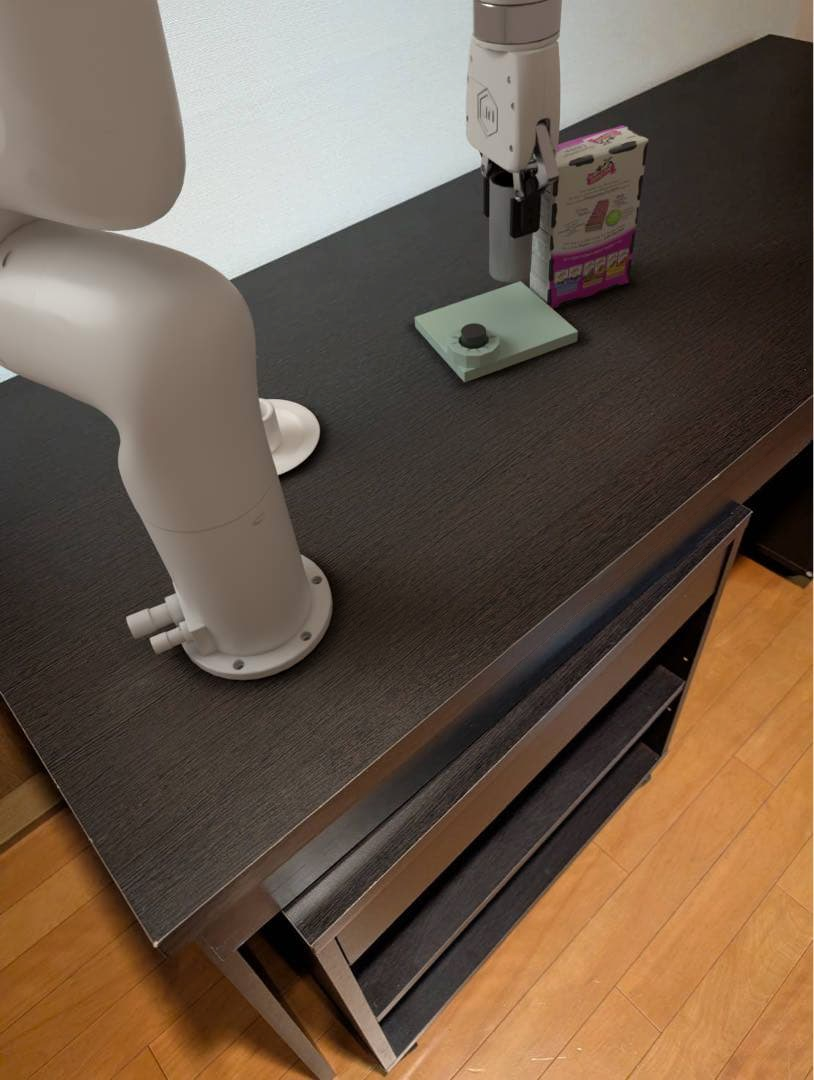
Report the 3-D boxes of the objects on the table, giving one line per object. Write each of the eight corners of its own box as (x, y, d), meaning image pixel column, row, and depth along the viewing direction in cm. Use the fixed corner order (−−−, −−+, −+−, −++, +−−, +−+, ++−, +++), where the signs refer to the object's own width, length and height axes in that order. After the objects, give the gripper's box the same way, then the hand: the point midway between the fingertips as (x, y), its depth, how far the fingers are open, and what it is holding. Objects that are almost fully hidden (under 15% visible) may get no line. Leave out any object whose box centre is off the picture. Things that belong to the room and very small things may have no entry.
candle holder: (189, 428, 79) (176, 394, 76) (298, 391, 81) (290, 358, 78) (219, 502, 71) (206, 468, 68) (338, 459, 74) (331, 425, 71)
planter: (528, 283, 81) (533, 187, 74) (486, 282, 82) (486, 186, 74) (532, 261, 84) (537, 166, 76) (491, 260, 85) (492, 166, 77)
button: (468, 352, 79) (468, 340, 78) (457, 340, 81) (456, 327, 80) (490, 345, 80) (490, 332, 79) (478, 332, 81) (478, 320, 80)
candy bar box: (605, 265, 93) (624, 122, 81) (629, 284, 90) (652, 138, 78) (525, 291, 91) (531, 148, 78) (547, 312, 88) (557, 166, 75)
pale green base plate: (463, 385, 80) (462, 361, 78) (412, 328, 88) (411, 304, 85) (578, 343, 83) (581, 319, 81) (520, 291, 91) (521, 268, 89)
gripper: (432, 4, 70) (441, 201, 83) (530, 54, 59) (522, 270, 73) (504, -13, 71) (501, 183, 85) (611, 33, 61) (588, 248, 75)
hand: (510, 221), depth 79 cm, fingers closed on planter, 4 cm apart
